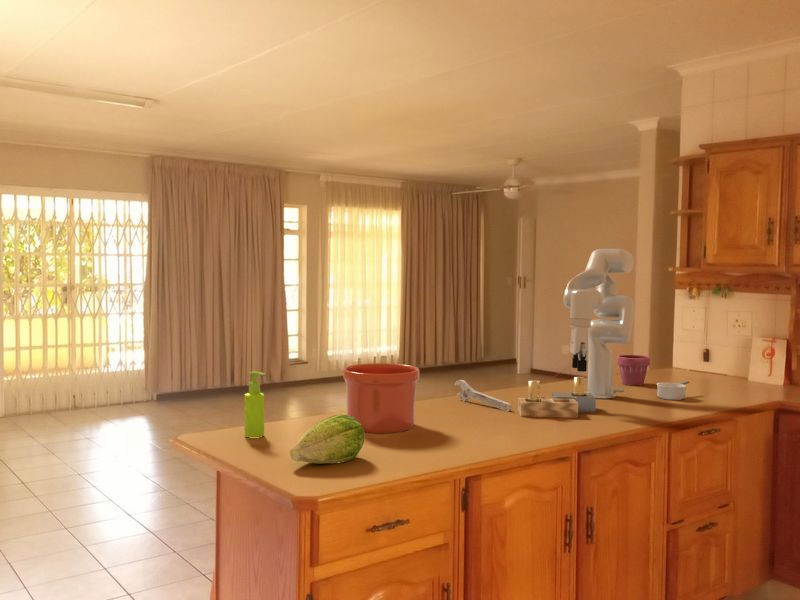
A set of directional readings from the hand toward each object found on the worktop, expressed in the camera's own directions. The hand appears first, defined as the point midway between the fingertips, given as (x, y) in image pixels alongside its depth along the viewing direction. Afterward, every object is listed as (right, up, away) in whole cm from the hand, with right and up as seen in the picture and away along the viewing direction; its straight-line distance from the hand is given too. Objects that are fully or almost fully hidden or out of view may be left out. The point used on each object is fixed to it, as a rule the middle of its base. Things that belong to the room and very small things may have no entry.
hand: (579, 369), depth 263 cm
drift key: (-9, -14, +2) cm, 17 cm away
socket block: (-2, -15, +1) cm, 15 cm away
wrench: (-35, -15, +8) cm, 39 cm away
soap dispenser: (-111, -16, -45) cm, 120 cm away
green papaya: (-86, -18, -72) cm, 114 cm away
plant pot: (+39, -13, +60) cm, 73 cm away
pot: (-73, -16, -29) cm, 80 cm away
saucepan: (+47, -14, +29) cm, 57 cm away
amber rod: (-18, -15, -8) cm, 25 cm away
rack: (-13, -15, -8) cm, 22 cm away
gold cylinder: (0, -15, +1) cm, 15 cm away
